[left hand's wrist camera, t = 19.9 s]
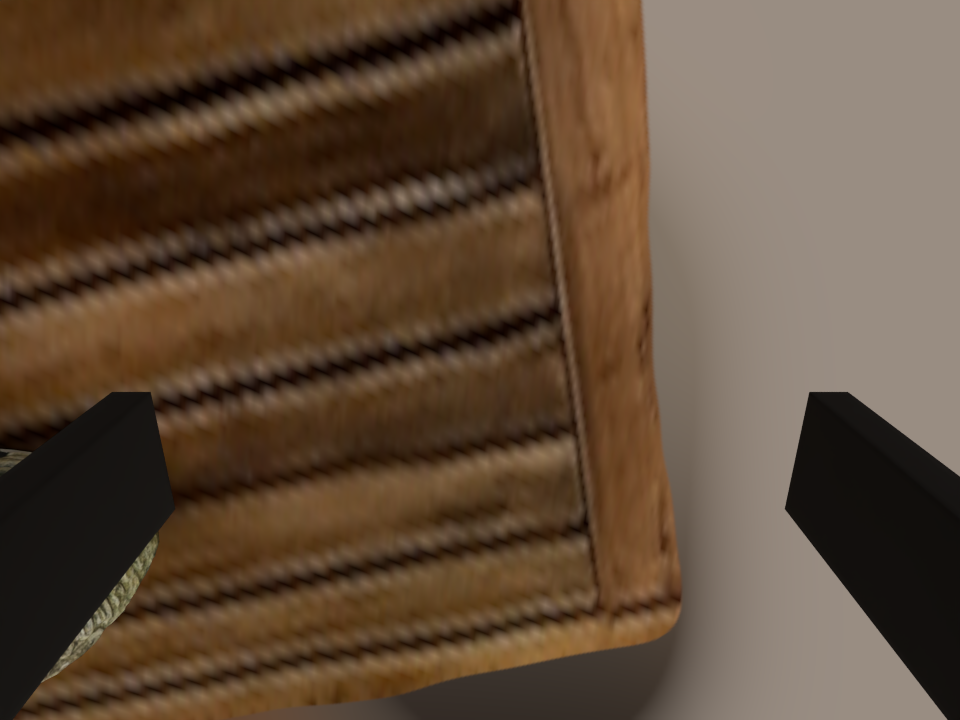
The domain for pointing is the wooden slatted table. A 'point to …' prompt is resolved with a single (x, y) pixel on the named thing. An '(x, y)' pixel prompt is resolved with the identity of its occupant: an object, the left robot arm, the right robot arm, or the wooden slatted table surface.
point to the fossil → (116, 599)
